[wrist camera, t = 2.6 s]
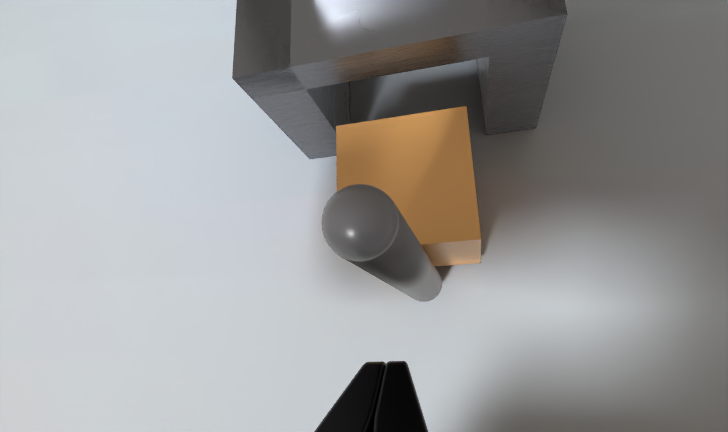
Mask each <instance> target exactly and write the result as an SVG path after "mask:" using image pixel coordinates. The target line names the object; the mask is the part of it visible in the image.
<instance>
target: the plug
mask: <svg viewBox="0 0 728 432" xmlns="http://www.w3.org/2000/svg"><path fill="white" fill-rule="evenodd" d="M336 152H337V192H336V193H335V194H334V195H333V196H332V197H331V198H330V200H329V201H328V203H327V204H326V206H325V208H324V212H323V215H322V230H323V234H324V237H325V240H326V241H327V243H328V245H329V246H330V247H331V248H332V250H333V251H334V252H335V253H337V254H338V255H339V256H341V257H343V258H344V259H346V260H348V261H349V262H351V263H353V264H355V265H356V266H358V267H360V268H362V269H363V270H365V271H367V272H369V273H370V274H372V275H374V276H376V277H377V278H379V279H381V280H382V281H384V282H386V283H388V284H389V285H391V286H393V287H395V288H396V289H398V290H400V291H402V292H403V293H405V294H407V295H409V296H410V297H412V298H414V299H415V300H418V301H430V300H432V299H434V298H435V297H436V296H437V295H438V294H439V293H440V290H441V287H442V279H441V276H440V274H439V272H438V271H437V269H436V268H435V266H446V265H460V264H474V263H481V233H480V224H479V214H478V205H477V196H476V187H475V178H474V169H473V160H472V151H471V142H470V133H469V124H468V115H467V106H462V107H456V108H450V109H443V110H437V111H430V112H424V113H417V114H411V115H404V116H398V117H391V118H385V119H378V120H372V121H365V122H359V123H352V124H346V125H339V126H336Z"/></svg>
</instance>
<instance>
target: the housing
mask: <svg viewBox="0 0 728 432" xmlns="http://www.w3.org/2000/svg"><path fill="white" fill-rule="evenodd" d="M566 16H567V11H566V6H565V0H237V9H236V26H235V43H234V60H233V77H232V78H233V79H234V80H235V82H236V83H237V84H238V85H239V86H240V87H241V88H242V89H243V90H244V91H245V92H246V93H247V94H248V95H249V96H250V97H251V98H252V99H253V100H254V101H255V102H256V103H257V105H258V106H259V107H260V108H261V109H262V110H263V111H264V112H265V113H266V114H267V115H268V116H269V117H270V118H271V119H272V120H273V121H274V122H275V123H276V124H277V125H278V126H279V128H280V129H281V130H282V131H283V132H284V133H285V134H286V135H287V136H288V137H289V138H290V139H291V140H292V141H293V142H294V143H295V144H296V145H297V146H298V147H299V148H300V149H301V151H302V152H303V153H304V154H305V155H306V156H307V157H308V158H309V159H314V158H322V157H329V156H336V155H337V152H336V126H339V125H346V124H350V106H349V82H351V81H356V80H362V79H367V78H373V77H379V76H384V75H390V74H396V73H401V72H407V71H412V70H418V69H424V68H429V67H435V66H441V65H446V64H452V63H457V62H463V61H469V60H474V59H477V64H478V72H479V81H480V89H481V97H482V105H483V113H484V122H485V130H486V135H489V134H496V133H503V132H510V131H518V130H525V129H532V128H536V126H537V122H538V118H539V115H540V111H541V107H542V104H543V100H544V97H545V93H546V89H547V86H548V82H549V78H550V75H551V71H552V67H553V64H554V60H555V56H556V53H557V49H558V45H559V42H560V38H561V35H562V31H563V27H564V24H565V20H566Z"/></svg>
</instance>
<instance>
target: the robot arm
mask: <svg viewBox="0 0 728 432" xmlns="http://www.w3.org/2000/svg"><path fill="white" fill-rule="evenodd" d="M315 432H428V430H427V426H426V423H425V420H424V416H423V413H422V410H421V407H420V403H419V400H418V397H417V394H416V390H415V387H414V384H413V381H412V377H411V374H410V371H409V367H408V365H407V363H406V362H405V361H390V362H387V363H384V362H367V363H365V364H364V365H363V366H362V367H361V369H360V370H359V371H358V373H357V374H356V375H355V377H354V378H353V380H352V381H351V382H350V384H349V385H348V386H347V388H346V389H345V391H344V392H343V393H342V395H341V396H340V397H339V399H338V400H337V402H336V403H335V404H334V406H333V407H332V408H331V410H330V411H329V412H328V414H327V415H326V417H325V418H324V419H323V421H322V422H321V423H320V425H319V426H318V428H317V429H316V430H315Z"/></svg>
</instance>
